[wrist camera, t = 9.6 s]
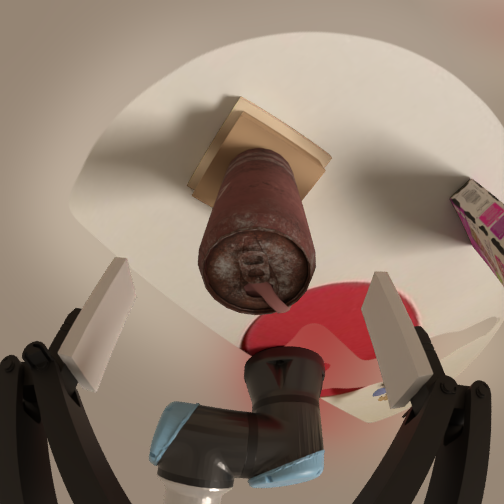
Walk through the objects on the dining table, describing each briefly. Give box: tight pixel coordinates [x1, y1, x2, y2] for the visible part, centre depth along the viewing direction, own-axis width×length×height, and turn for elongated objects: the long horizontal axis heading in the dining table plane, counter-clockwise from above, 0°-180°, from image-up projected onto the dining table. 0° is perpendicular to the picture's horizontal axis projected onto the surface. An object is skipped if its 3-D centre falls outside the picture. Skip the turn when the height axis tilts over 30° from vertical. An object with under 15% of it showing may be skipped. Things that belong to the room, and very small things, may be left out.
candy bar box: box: [450, 179, 504, 286], centre depth 25 cm, size 11×5×16 cm, turn 48°
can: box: [198, 148, 316, 315], centre depth 20 cm, size 6×6×14 cm
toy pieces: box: [373, 388, 388, 401], centre depth 57 cm, size 12×11×4 cm
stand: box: [187, 97, 332, 207], centre depth 28 cm, size 11×11×5 cm
